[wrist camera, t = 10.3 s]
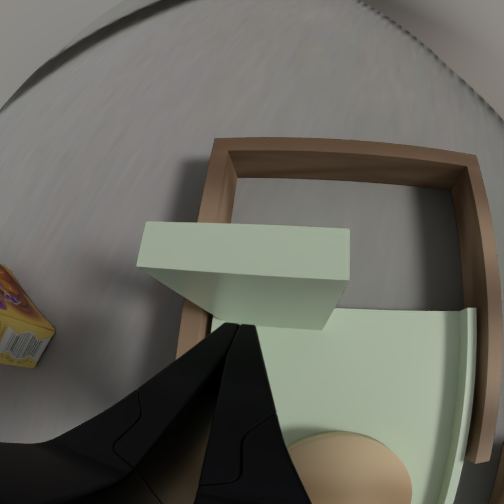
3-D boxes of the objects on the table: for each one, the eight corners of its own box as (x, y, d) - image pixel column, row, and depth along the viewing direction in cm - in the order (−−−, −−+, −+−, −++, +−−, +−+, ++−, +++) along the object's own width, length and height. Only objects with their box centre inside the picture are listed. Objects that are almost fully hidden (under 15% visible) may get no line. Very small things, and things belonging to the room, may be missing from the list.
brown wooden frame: (466, 450, 13) (489, 460, 10) (186, 441, 16) (165, 453, 13) (460, 179, 19) (476, 155, 16) (225, 165, 22) (214, 138, 19)
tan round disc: (389, 546, 11) (395, 559, 9) (248, 547, 12) (244, 560, 11) (413, 427, 13) (423, 432, 12) (260, 427, 15) (256, 434, 13)
